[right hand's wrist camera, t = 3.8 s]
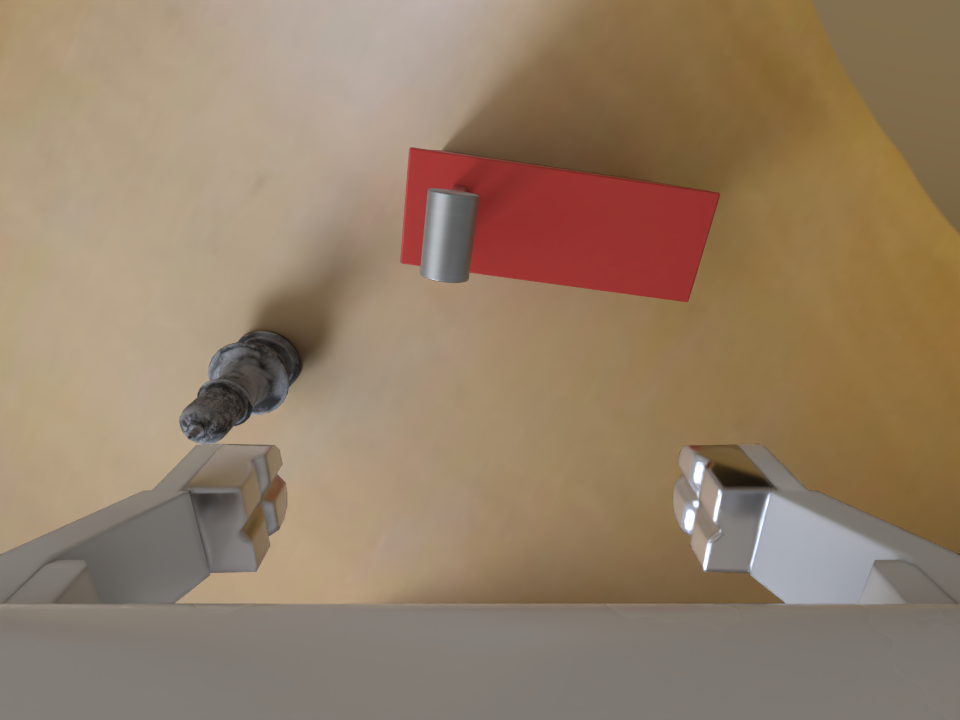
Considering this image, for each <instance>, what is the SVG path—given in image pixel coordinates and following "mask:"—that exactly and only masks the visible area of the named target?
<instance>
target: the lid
mask: <svg viewBox="0 0 960 720" xmlns="http://www.w3.org/2000/svg"><path fill="white" fill-rule="evenodd" d="M719 197H720V193H717V192H711V191H704V190H697V189H691V188H684V187H677V186H670V185H664V184H657V183H650V182H643V181H636V180H630V179H623V178H616V177H609V176H602V175H596V174H589V173H582V172H575V171H569V170H562V169H555V168H548V167H541V166H535V165H528V164H521V163H514V162H507V161H501V160H494V159H487V158H480V157H474V156H467V155H460V154H453V153H446V152H440V151H433V150H426V149H419V148H410V149H409V159H408V172H407V185H406V197H405V210H404V222H403V235H402V248H401V260H400V262H401V263H403V264H410V265H417V266H421V268H420V274H421V275H422V276H423V277H425V278H428V279H431V280H435V281H440V282H447V283H461V282H466V281H468V279H469V273H476V274H484V275H491V276H498V277H506V278H513V279H520V280H528V281H535V282H543V283H550V284H557V285H565V286H572V287H579V288H587V289H594V290H601V291H609V292H616V293H624V294H631V295H638V296H646V297H653V298H660V299H668V300H675V301H682V302H688V301H689V297H690V294H691V290H692V287H693V284H694V280H695V277H696V274H697V270H698V267H699V264H700V260H701V257H702V254H703V250H704V247H705V243H706V240H707V237H708V233H709V230H710V227H711V223H712V220H713V217H714V213H715V210H716V207H717V203H718V200H719Z"/></svg>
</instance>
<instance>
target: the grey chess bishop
mask: <svg viewBox="0 0 960 720" xmlns="http://www.w3.org/2000/svg"><path fill="white" fill-rule="evenodd" d="M299 369H300V362H299V357H298V355H297V352H296V350H295V349H294V347H293V346H292V345H291V343H289V342H288V341H287V340H286V339H285V338H284V337H282V336H280V335H278V334H276V333H272V332H268V331H255V332H251V333H249V334H247V335H245V336H244V337H242V338H241V339H240V340H239V341H238V342H237V343H233V344H229V345H227V346H225V347H223V348H221V349H220V350H218V352H217V353H216V354H215V355H214V356H213V357H212V360H211V362H210V364H209V371H208V376H209V381H208V382H206V383H205V384H204V385H203V386H202V387H201V388H200V389H199V392H198V396H197V398H196V399H195V400H194V401H193V402H192V403H191V404H190V405H188V406H187V407H186V408H185V409H184V410H183V412H182V414H181V416H180V427H181V430H182V431H183V433H184V434H185V435H186V437H187V438H188V439H189V440H192V441H194V442H196V443H201V444H212V443H215V442H217V441H219V440H221V439H222V438H223V437H224V436H225V435H226V434H227V433H228V432H229V431H230V430H231V429H232V427H233V426H237V425H240V424H242V423H244V422H245V421H246V420H247V419H248V418H249V417H250V415H261V414H265V413H269V412H271V411H273V410H275V409H276V408H278V407H279V406H280V405H281V404H282V403H283V401H284V400H285V398H286V396H287V394H288V388H289V386H290V385H291V384H292V383H293V382H294V381H295V380H296V378H297V376H298V374H299Z"/></svg>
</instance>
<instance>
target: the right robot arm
mask: <svg viewBox="0 0 960 720" xmlns="http://www.w3.org/2000/svg"><path fill="white" fill-rule="evenodd" d="M281 466H282V459H281V454H280V450H279V449H278V448H277V447H276V446H275V445H241V444H227V445H225V444H201V445H196V446H195V447H194V448H193V449H192V450H191V451H190V452H189V453H188V454H187V455H186V456H185V457H184V458H183V459H182V460H181V461H180V462H179V464H178V465H177V466H176V467H175V468H174V469H173V470H172V471H171V472H170V473H169V474H168V475H167V476H166V477H165V478H164V479H163V480H162V481H161V482H160V483H159V484H158V485H157V486H156V487H155V488H154V489H153V490H152V491H142V492H139V493H137V494H135V495H133V496H130V497H128V498H126V499H124V500H121V501H119V502H117V503H115V504H113V505H110V506H108V507H106V508H104V509H101V510H99V511H97V512H95V513H92V514H90V515H88V516H86V517H83V518H81V519H79V520H77V521H74V522H72V523H70V524H68V525H65V526H63V527H61V528H59V529H56V530H54V531H52V532H50V533H48V534H45V535H43V536H41V537H39V538H36V539H34V540H32V541H30V542H27V543H25V544H23V545H21V546H18V547H16V548H14V549H12V550H9V551H7V552H5V553H3V554H0V720H960V555H959V554H957V553H955V552H952V551H950V550H948V549H946V548H943V547H941V546H939V545H937V544H935V543H932V542H930V541H928V540H926V539H923V538H921V537H919V536H917V535H914V534H912V533H910V532H908V531H906V530H903V529H901V528H899V527H897V526H894V525H892V524H890V523H888V522H885V521H883V520H881V519H879V518H876V517H874V516H872V515H870V514H868V513H865V512H863V511H861V510H859V509H856V508H854V507H852V506H850V505H847V504H845V503H843V502H841V501H838V500H836V499H834V498H832V497H830V496H827V495H825V494H823V493H821V492H818V491H808V490H807V489H806V488H805V487H804V486H803V485H802V484H801V483H800V482H799V481H798V480H797V479H796V478H795V477H794V476H793V475H792V474H791V473H790V472H789V471H788V470H787V468H786V467H785V466H784V465H783V464H782V463H781V462H780V461H779V460H778V459H777V458H776V457H775V456H774V455H773V454H772V453H771V452H770V451H769V450H768V449H767V448H766V447H765V446H763V445H760V444H737V445H698V446H683V447H682V449H681V451H680V453H679V458H678V466H679V467H680V469H681V471H682V472H683V474H682V475H681V477H680V478H679V479H678V480H677V481H676V482H675V483H674V489H673V496H672V498H673V510H674V514H675V517H676V521H677V523H678V525H679V527H680V528H681V530H682V531H684V532H685V533H687V534H688V535H690V536H691V542H690V547H691V549H692V551H693V553H694V555H695V556H696V558H697V560H698V562H699V564H700V566H701V567H702V569H703V571H704V572H735V573H750V576H752V577H753V578H754V579H756V580H757V581H758V582H759V583H761V584H762V585H763V586H764V587H766V588H767V589H768V590H770V591H771V592H772V593H773V594H775V595H776V596H777V597H778V598H780V599H781V600H782V601H784V602H785V603H786V604H174V603H175V602H177V601H178V600H179V599H180V598H182V597H183V596H184V595H186V594H187V593H188V592H189V591H191V590H192V589H193V588H194V587H196V586H197V585H198V584H200V583H201V582H202V581H203V580H205V579H206V578H207V577H208V576H210V573H225V572H256V571H257V569H258V568H259V566H260V564H261V562H262V560H263V558H264V556H265V555H266V553H267V551H268V549H269V547H270V542H269V536H270V535H272V534H273V533H275V532H276V531H278V530H279V528H280V526H281V524H282V522H283V520H284V518H285V513H286V509H287V488H286V483H285V482H284V481H283V480H282V479H281V478H280V477H279V476H278V474H277V472H278V471H279V469H280V467H281Z"/></svg>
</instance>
